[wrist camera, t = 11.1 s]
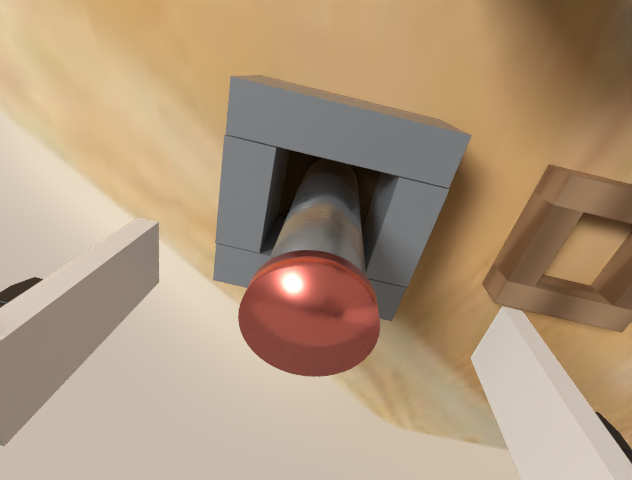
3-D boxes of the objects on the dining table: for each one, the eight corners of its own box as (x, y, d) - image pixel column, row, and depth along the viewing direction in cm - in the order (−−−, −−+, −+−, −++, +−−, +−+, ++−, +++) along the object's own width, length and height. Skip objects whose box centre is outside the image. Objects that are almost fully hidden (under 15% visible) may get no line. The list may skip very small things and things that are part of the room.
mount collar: (689, 198, 22) (727, 213, 20) (599, 310, 27) (621, 332, 25) (549, 164, 22) (571, 174, 20) (482, 283, 27) (494, 302, 24)
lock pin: (369, 162, 23) (400, 286, 10) (351, 220, 25) (357, 388, 12) (305, 146, 23) (247, 251, 9) (293, 206, 25) (231, 360, 12)
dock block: (441, 120, 21) (472, 135, 16) (383, 271, 27) (392, 321, 22) (259, 75, 21) (229, 75, 16) (239, 238, 27) (212, 279, 21)
